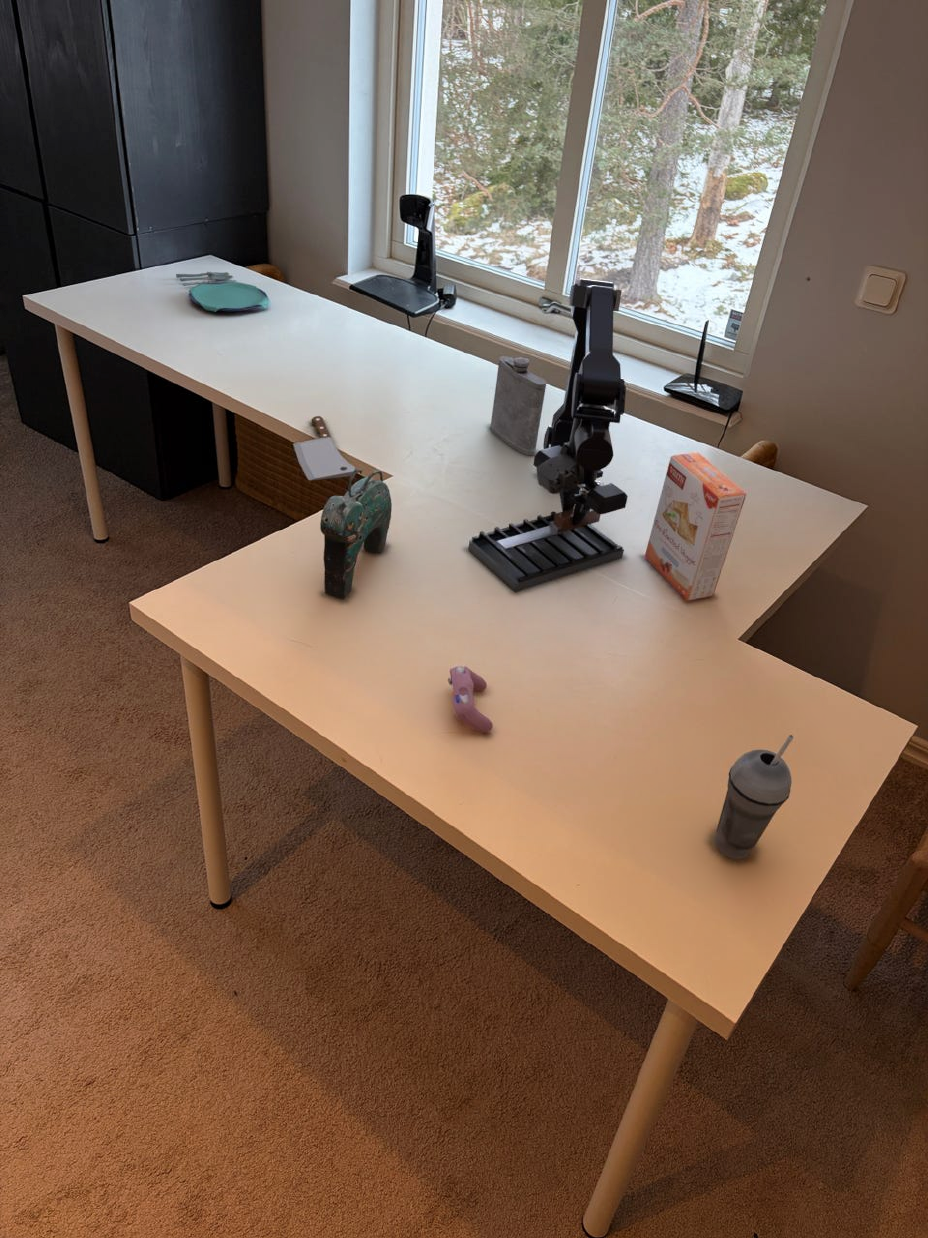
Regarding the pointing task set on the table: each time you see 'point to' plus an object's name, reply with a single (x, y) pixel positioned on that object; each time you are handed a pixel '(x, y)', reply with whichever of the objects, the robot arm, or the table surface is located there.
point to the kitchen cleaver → (322, 455)
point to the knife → (550, 529)
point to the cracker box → (694, 525)
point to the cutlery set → (224, 293)
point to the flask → (517, 404)
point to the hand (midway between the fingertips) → (570, 521)
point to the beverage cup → (752, 800)
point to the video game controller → (468, 698)
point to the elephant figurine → (353, 529)
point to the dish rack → (543, 553)
